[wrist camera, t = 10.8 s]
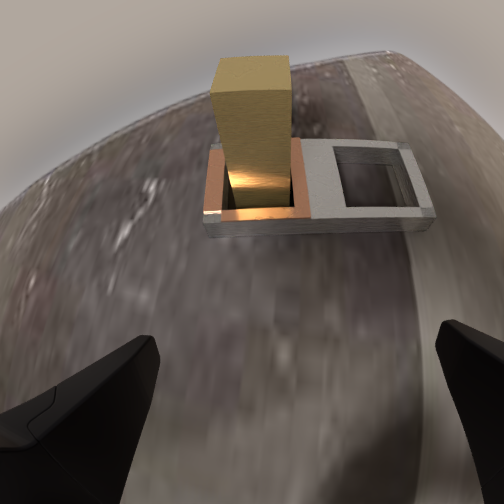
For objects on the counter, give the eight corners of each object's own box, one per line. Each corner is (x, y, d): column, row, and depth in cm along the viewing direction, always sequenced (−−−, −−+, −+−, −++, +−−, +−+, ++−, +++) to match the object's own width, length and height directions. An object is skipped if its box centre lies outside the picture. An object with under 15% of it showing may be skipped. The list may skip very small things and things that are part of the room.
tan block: (288, 175, 28) (288, 55, 16) (288, 214, 26) (291, 89, 14) (241, 175, 28) (220, 58, 16) (238, 214, 26) (209, 92, 14)
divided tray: (401, 158, 28) (408, 141, 25) (425, 230, 24) (437, 216, 21) (215, 160, 29) (210, 142, 27) (209, 238, 25) (202, 222, 23)
